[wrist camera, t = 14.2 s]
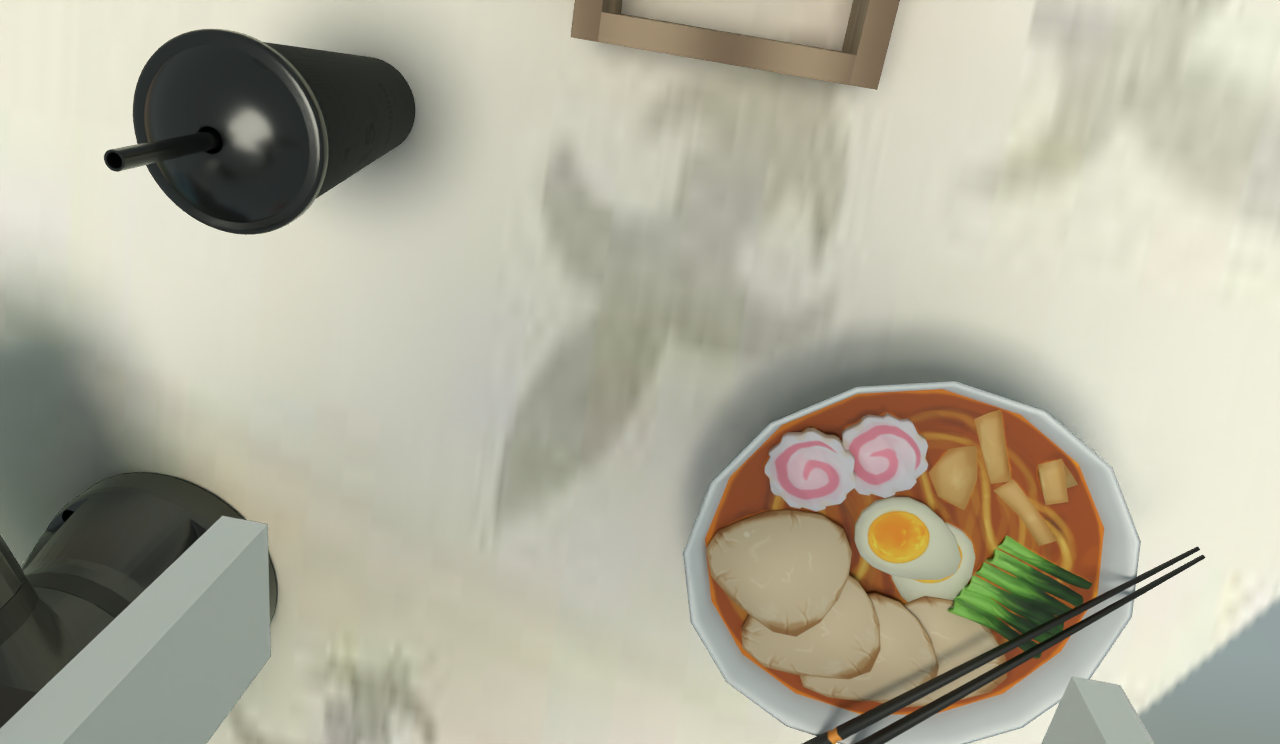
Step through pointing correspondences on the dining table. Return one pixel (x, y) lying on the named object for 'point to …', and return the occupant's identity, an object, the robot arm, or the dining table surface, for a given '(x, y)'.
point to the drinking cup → (259, 125)
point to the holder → (750, 42)
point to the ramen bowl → (913, 565)
